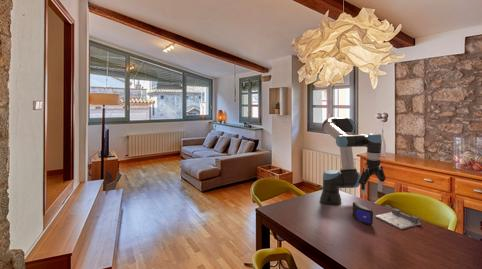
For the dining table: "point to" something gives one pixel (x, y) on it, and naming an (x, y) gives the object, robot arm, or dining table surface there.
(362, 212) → the small display screen
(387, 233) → the dining table surface
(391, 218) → the white plate with bar
